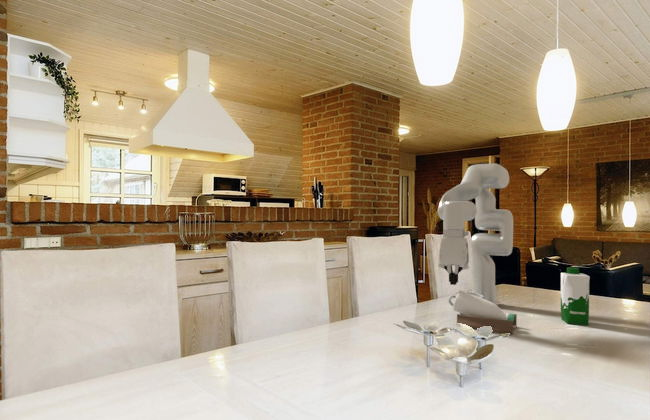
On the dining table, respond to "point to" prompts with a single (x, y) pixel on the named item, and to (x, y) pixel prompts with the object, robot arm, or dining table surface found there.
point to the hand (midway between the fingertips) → (453, 284)
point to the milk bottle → (479, 307)
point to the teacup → (466, 292)
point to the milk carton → (575, 297)
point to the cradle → (489, 323)
